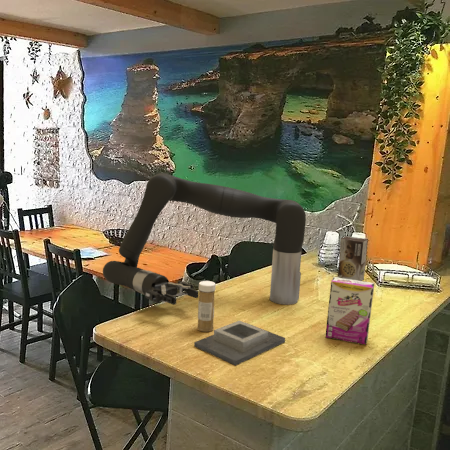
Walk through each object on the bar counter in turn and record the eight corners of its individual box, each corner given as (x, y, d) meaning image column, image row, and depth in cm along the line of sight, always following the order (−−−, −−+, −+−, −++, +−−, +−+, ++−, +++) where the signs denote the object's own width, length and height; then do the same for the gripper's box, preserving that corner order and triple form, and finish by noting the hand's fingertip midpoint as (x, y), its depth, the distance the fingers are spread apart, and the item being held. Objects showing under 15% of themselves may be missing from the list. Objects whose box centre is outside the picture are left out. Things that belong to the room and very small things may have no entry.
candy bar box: (324, 338, 135) (330, 280, 132) (327, 331, 139) (332, 276, 136) (367, 346, 131) (373, 287, 128) (368, 339, 136) (374, 282, 133)
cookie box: (364, 279, 193) (368, 239, 190) (359, 283, 188) (363, 241, 185) (342, 274, 198) (345, 235, 195) (336, 278, 192) (340, 238, 189)
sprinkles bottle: (216, 328, 138) (218, 282, 135) (209, 333, 134) (211, 286, 131) (201, 324, 140) (203, 279, 137) (194, 330, 136) (195, 283, 133)
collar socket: (244, 326, 140) (245, 314, 139) (285, 342, 131) (286, 329, 130) (194, 346, 125) (194, 332, 125) (235, 365, 116) (236, 351, 116)
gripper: (132, 276, 145) (168, 290, 135) (168, 268, 156) (204, 280, 145) (131, 300, 147) (167, 316, 136) (168, 291, 157) (203, 304, 147)
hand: (186, 297), depth 141 cm, fingers open, 8 cm apart
